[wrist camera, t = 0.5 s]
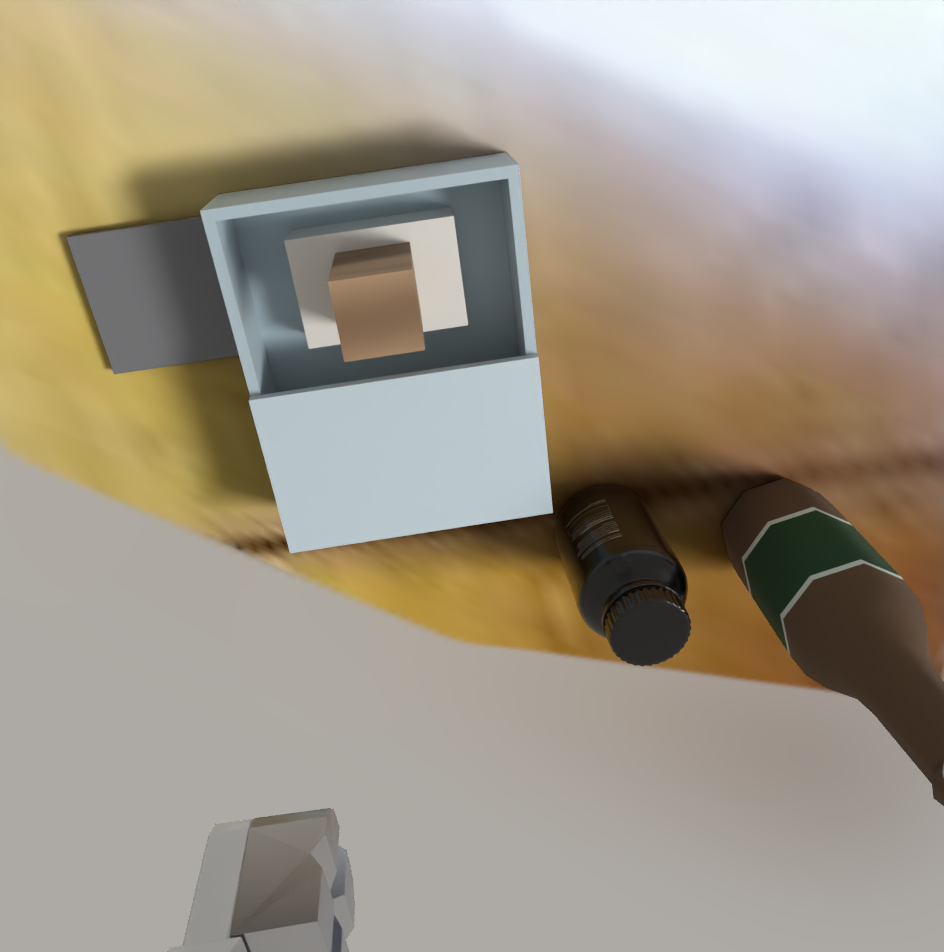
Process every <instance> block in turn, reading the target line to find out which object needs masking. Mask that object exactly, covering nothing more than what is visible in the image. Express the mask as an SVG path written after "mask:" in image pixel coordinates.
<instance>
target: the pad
mask: <svg viewBox="0 0 944 952" xmlns="http://www.w3.org/2000/svg"><path fill="white" fill-rule="evenodd" d="M66 238H67V241H68V244H69V247H70V250H71V253H72V255H73V258H74V261H75V264H76V267H77V270H78V273H79V275H80V278H81V281H82V284H83V287H84V290H85V293H86V295H87V298H88V301H89V304H90V307H91V310H92V313H93V316H94V318H95V321H96V324H97V327H98V330H99V333H100V336H101V338H102V341H103V344H104V347H105V350H106V353H107V356H108V358H109V361H110V364H111V367H112V370H113V373H114V374H119V373H126V372H132V371H139V370H146V369H153V368H159V367H166V366H173V365H179V364H186V363H193V362H199V361H206V360H213V359H220V358H226V357H233V356H239V353H238V350H237V346H236V342H235V339H234V335H233V331H232V328H231V324H230V320H229V317H228V313H227V309H226V306H225V302H224V298H223V294H222V291H221V287H220V283H219V280H218V276H217V272H216V269H215V265H214V261H213V258H212V254H211V250H210V247H209V243H208V239H207V236H206V232H205V228H204V224H203V221H202V217H201V216H199V217H192V218H185V219H178V220H172V221H165V222H158V223H151V224H144V225H137V226H130V227H124V228H117V229H110V230H103V231H96V232H89V233H83V234H76V235H70V236H68V237H66Z"/></svg>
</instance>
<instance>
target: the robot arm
mask: <svg viewBox="0 0 944 952" xmlns="http://www.w3.org/2000/svg"><path fill="white" fill-rule="evenodd" d="M942 773H943V777H944V765H943V772H942ZM338 844H339V824H338V821H337V818H336V815H335V812H334V809H331V808H328V809H320V810H313V811H305V812H299V813H290V814H283V815H276V816H269V817H260V818H254V819H249V820H243V821H235V822H228V823H221V824H215V826H214V827H213V829H212V831H211V832H210V834H209V836H208V839H207V844H206V848H205V852H204V856H203V860H202V865H201V869H200V873H199V878H198V882H197V886H196V890H195V895H194V899H193V903H192V907H191V911H190V916H189V920H188V924H187V929H186V933H185V937H184V941H183V945H182V946H179V947H173V948H170V949H169V950H168V952H349V949H348V946H347V942H346V939H347V937H348V936H349V934H350V933H351V931H352V930H353V928H354V914H355V901H354V886H353V877H352V871H351V865H350V861H349V857H348V854H347V850H345V849H344V848H342V847H341V846H339V845H338Z"/></svg>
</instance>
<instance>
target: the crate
mask: <svg viewBox="0 0 944 952" xmlns="http://www.w3.org/2000/svg"><path fill="white" fill-rule="evenodd" d="M200 213H201V217H202V221H203V224H204V228H205V232H206V236H207V239H208V243H209V247H210V250H211V254H212V258H213V261H214V265H215V269H216V272H217V276H218V280H219V283H220V287H221V291H222V294H223V298H224V302H225V306H226V309H227V313H228V317H229V320H230V324H231V328H232V331H233V335H234V339H235V342H236V346H237V350H238V353H239V357H240V361H241V364H242V368H243V372H244V376H245V379H246V383H247V387H248V390H249V394H250V398H249V404H250V408H251V411H252V415H253V419H254V422H255V426H256V430H257V433H258V437H259V441H260V444H261V448H262V452H263V455H264V459H265V463H266V466H267V470H268V474H269V477H270V481H271V485H272V488H273V492H274V496H275V499H276V503H277V507H278V510H279V514H280V518H281V521H282V525H283V529H284V532H285V536H286V540H287V543H288V547H289V551H290V553H295V552H302V551H308V550H315V549H321V548H328V547H334V546H341V545H347V544H354V543H360V542H367V541H373V540H380V539H386V538H393V537H399V536H406V535H412V534H419V533H425V532H432V531H438V530H445V529H452V528H458V527H465V526H471V525H478V524H484V523H491V522H497V521H504V520H510V519H517V518H523V517H530V516H536V515H543V514H549V513H553V507H552V496H551V485H550V475H549V464H548V453H547V443H546V432H545V421H544V411H543V400H542V389H541V379H540V368H539V357H538V355H537V350H536V340H535V329H534V318H533V308H532V297H531V287H530V276H529V265H528V255H527V244H526V234H525V223H524V212H523V202H522V191H521V181H520V170H519V164H518V163H517V162H516V161H515V160H514V159H513V158H512V157H511V156H510V155H509V154H508V153H507V152H505V153H498V154H491V155H484V156H477V157H470V158H464V159H457V160H450V161H443V162H436V163H429V164H422V165H416V166H409V167H402V168H395V169H388V170H381V171H375V172H368V173H361V174H354V175H347V176H340V177H333V178H327V179H320V180H313V181H306V182H299V183H292V184H285V185H279V186H272V187H265V188H258V189H251V190H244V191H237V192H231V193H224V194H218V195H217V196H216V197H215V198H214V199H212V200H211V201H210V202H209V203H208V204H207V205H206V206H205V207H204V208H202V209H201V210H200ZM406 242H410V246H411V253H412V259H413V265H414V272H415V278H416V284H417V290H418V297H419V303H420V309H421V316H422V325H423V334H424V343H425V350H423V351H416V352H409V353H403V354H396V355H389V356H383V357H376V358H369V359H363V360H356V361H349V362H344V358H343V353H342V348H341V344H340V339H339V334H338V329H337V324H336V320H335V315H334V310H333V305H332V301H331V296H330V291H329V286H328V278H329V275H330V271H331V267H332V263H333V259H334V255H335V253H338V252H345V251H352V250H358V249H365V248H372V247H379V246H386V245H392V244H399V243H406Z"/></svg>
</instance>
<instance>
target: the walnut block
mask: <svg viewBox="0 0 944 952" xmlns="http://www.w3.org/2000/svg"><path fill="white" fill-rule="evenodd" d="M328 286H329V291H330V296H331V301H332V305H333V310H334V315H335V320H336V324H337V329H338V334H339V339H340V344H341V348H342V353H343V358H344V362H349V361H356V360H363V359H369V358H376V357H383V356H389V355H396V354H403V353H409V352H416V351H423V350H425V343H424V334H423V325H422V316H421V309H420V303H419V297H418V290H417V284H416V278H415V272H414V265H413V259H412V253H411V246H410V242H406V243H399V244H392V245H386V246H379V247H372V248H365V249H358V250H352V251H345V252H338V253H335V255H334V259H333V263H332V267H331V271H330V275H329V278H328Z"/></svg>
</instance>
